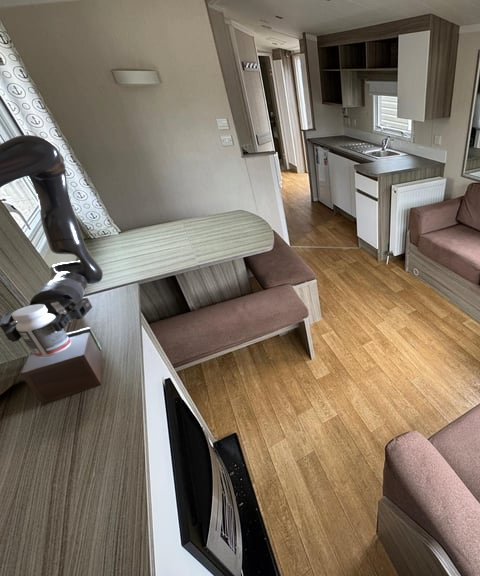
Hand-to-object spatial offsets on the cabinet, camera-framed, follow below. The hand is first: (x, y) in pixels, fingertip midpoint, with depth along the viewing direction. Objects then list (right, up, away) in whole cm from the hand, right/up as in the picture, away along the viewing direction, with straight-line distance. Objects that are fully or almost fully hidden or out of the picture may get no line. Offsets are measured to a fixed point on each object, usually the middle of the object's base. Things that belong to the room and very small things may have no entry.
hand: (34, 332), depth 60 cm
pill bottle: (-1, -5, +5) cm, 7 cm away
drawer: (-6, -10, +15) cm, 19 cm away
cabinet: (-2, -13, +10) cm, 17 cm away
